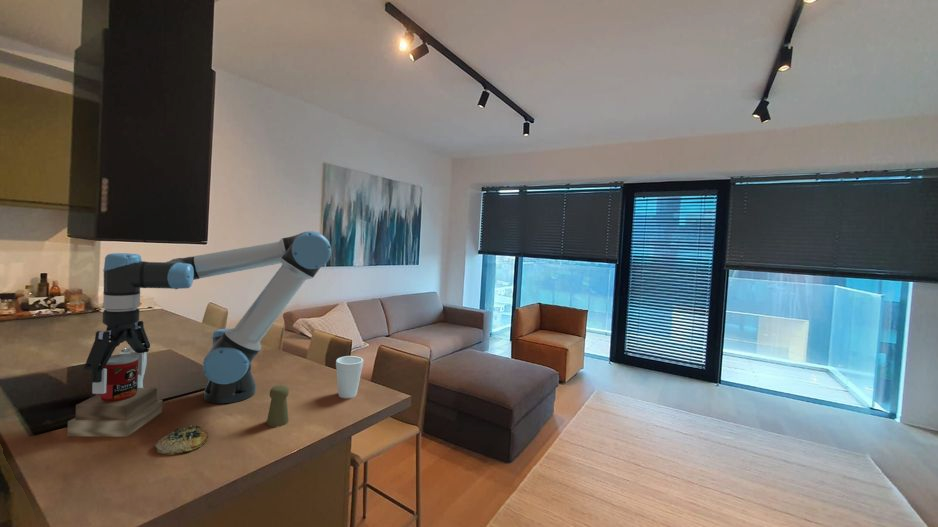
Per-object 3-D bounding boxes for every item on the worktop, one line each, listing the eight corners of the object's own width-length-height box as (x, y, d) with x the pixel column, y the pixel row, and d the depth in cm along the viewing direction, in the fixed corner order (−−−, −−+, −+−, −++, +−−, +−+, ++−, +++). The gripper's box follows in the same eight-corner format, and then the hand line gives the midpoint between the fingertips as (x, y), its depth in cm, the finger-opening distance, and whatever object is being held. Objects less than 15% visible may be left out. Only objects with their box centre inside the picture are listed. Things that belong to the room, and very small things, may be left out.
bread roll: (201, 428, 107) (202, 413, 106) (213, 450, 100) (214, 433, 99) (151, 444, 99) (151, 427, 98) (161, 468, 92) (161, 450, 91)
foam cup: (364, 391, 142) (367, 357, 141) (354, 401, 132) (357, 365, 132) (340, 388, 142) (343, 354, 142) (329, 398, 133) (331, 362, 133)
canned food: (115, 403, 101) (116, 364, 101) (92, 399, 103) (93, 359, 102) (144, 393, 109) (146, 356, 108) (123, 388, 110) (124, 352, 110)
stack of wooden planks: (162, 412, 114) (163, 386, 114) (127, 436, 100) (127, 407, 100) (110, 411, 112) (111, 385, 112) (67, 436, 98) (68, 406, 98)
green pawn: (293, 420, 116) (295, 385, 115) (277, 428, 110) (279, 392, 110) (278, 415, 118) (279, 381, 117) (261, 423, 112) (263, 388, 112)
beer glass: (117, 399, 120) (118, 353, 119) (118, 392, 125) (119, 347, 124) (145, 395, 124) (147, 350, 123) (145, 387, 129) (147, 345, 129)
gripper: (139, 300, 116) (137, 367, 117) (64, 317, 91) (63, 402, 93) (166, 302, 117) (163, 368, 118) (99, 319, 93) (97, 402, 94)
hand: (119, 383), depth 106 cm, fingers open, 13 cm apart
